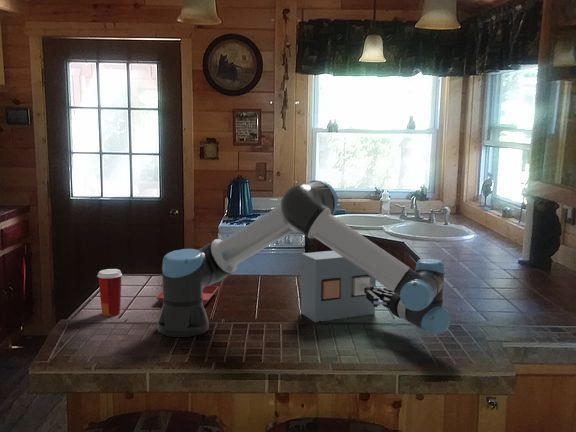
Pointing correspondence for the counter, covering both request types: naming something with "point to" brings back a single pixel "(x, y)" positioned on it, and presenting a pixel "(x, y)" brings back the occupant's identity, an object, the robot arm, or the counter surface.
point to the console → (346, 304)
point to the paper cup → (110, 291)
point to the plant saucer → (207, 294)
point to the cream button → (359, 284)
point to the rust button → (330, 288)
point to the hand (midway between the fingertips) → (363, 287)
